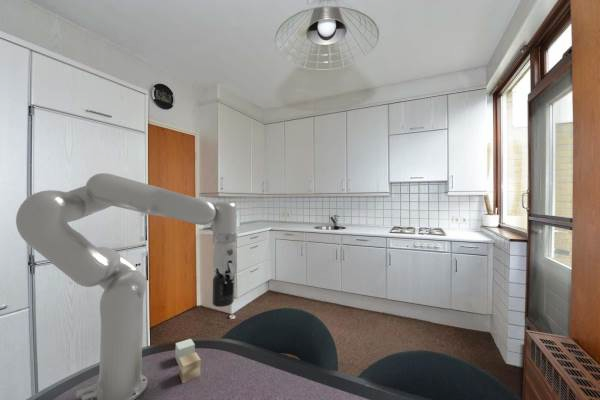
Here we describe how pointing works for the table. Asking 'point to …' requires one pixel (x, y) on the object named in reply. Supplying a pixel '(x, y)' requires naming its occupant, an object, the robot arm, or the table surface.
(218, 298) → the supplement bottle
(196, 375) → the beech block
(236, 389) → the table surface
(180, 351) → the sage block
